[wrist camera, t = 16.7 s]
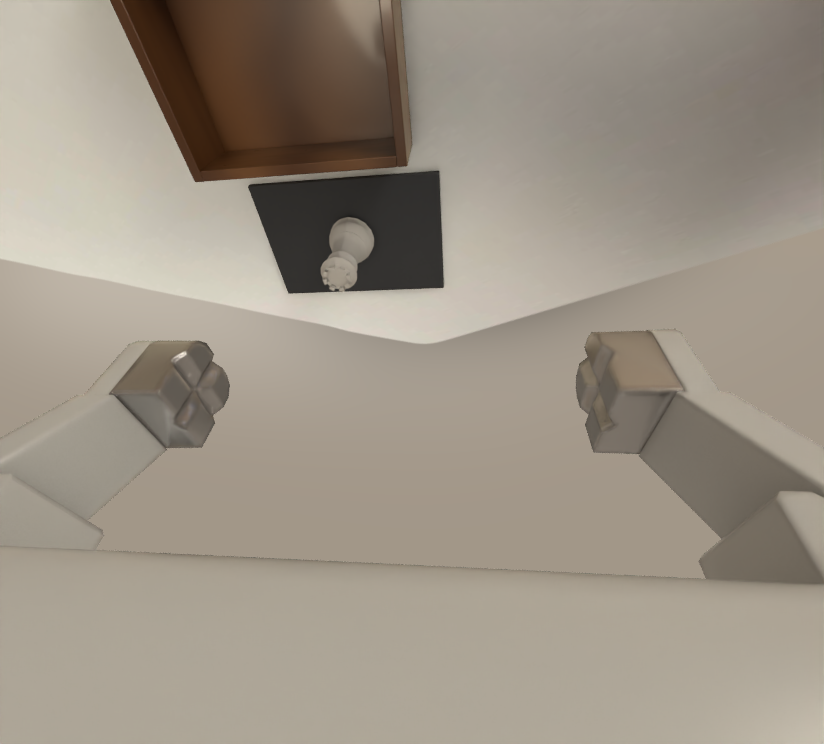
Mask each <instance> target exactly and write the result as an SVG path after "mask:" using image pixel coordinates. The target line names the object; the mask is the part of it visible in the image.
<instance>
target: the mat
mask: <svg viewBox="0 0 824 744" xmlns="http://www.w3.org/2000/svg"><path fill="white" fill-rule="evenodd" d="M248 188H249V190H250V193H251V196H252V198H253V201H254V203H255V206H256V209H257V211H258V214H259V217H260V219H261V222H262V225H263V227H264V230H265V232H266V235H267V238H268V240H269V243H270V246H271V248H272V251H273V254H274V256H275V259H276V262H277V264H278V267H279V269H280V272H281V275H282V277H283V280H284V283H285V285H286V288H287V291H288V293H315V292H339V289H335V290H334V291H332V290H330V289H329V288H330V286H329V285H328V284H326V285H325V284H324V282H323V277H322V275H321V266H322V264H323V262H325V261H326V260H327V259H328V257H329V255H330V254H332V250H331V247H330V243H329V235H330V233H331V229H332V227H333V225H334V224H335V223H336V222H337V221H338V220H340V219H343V218H347V217H351V218H357V219H359V220H361V221H362V222H364V223H366V225H367V226H368V227H369V228H370V229H371V231H372V234H373V236H374V247H373V249H372V251H371V253H370V254H369V256H368V257H367V258H366V259H365V260H363V261H362V262H360V263H358V264H357V280H356V282H355V284H354V285H353V286H352V287H350V288H348V289H345V291H369V290H396V289H422V288H443V287H444V284H443V259H442V233H441V208H440V183H439V171H431V172H417V173H404V174H390V175H376V176H362V177H349V178H335V179H321V180H307V181H294V182H280V183H266V184H252V185H249V186H248Z"/></svg>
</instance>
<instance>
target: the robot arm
mask: <svg viewBox="0 0 824 744" xmlns="http://www.w3.org/2000/svg"><path fill="white" fill-rule="evenodd" d="M585 351H586V353H587V356H588V357H587V358H586V359H585V360H583V361H582V362H581V363H580V364H579V368H578V372H577V375H576V392H577V399H578V402H579V406H580V408H582V409H583V410H584V411H585V412H586V413H587V414H589V415H588V418H587V421H586V424H585V426H586V429H587V433H588V436H589V439H590V443H591V446H592V449H593V452H598V453H626V454H640V455H639V457H640V458H641V459H642V460H643V461H644V462H645V463H646V464H647V465H648V466H649V467H650V468H651V469H652V470H653V471H654V472H655V473H656V474H657V475H658V476H659V477H660V478H661V479H662V480H663V481H664V482H665V483H666V484H667V485H668V486H669V487H670V488H671V489H672V490H673V491H674V492H675V493H676V494H677V495H678V496H679V497H680V498H681V499H682V500H683V501H685V503H686V504H687V505H688V506H689V507H690V508H691V509H692V510H693V511H695V513H697V515H698V516H699V517H700V518H701V519H702V520H703V521H704V522H705V523H706V524H707V525H708V526H709V527H710V528H711V529H712V530H713V531H714V532H715V533H716V534H718V536H719V537H720V538H721V540H720V541H719V542H718V543H716V544H715V545H714V546H713V547H712V548H710V549H709V550H708V551H707V552H706V553H704V555H703V556H702V557H701V558H700V560H699V563H700V565H701V568H702V570H703V573H704V575H705V578H706V579H698V578H697V579H696V578H677V577H656V576H635V575H612V574H592V573H570V572H550V571H528V570H508V569H487V568H466V567H465V568H464V567H445V566H424V565H403V564H401V565H400V564H382V563H361V562H339V561H318V560H297V559H275V558H256V557H234V556H213V555H191V554H170V553H169V554H168V553H149V552H128V551H106V550H95V549H96V548H97V546H98V544H99V543H100V541H101V539H102V538H103V536H104V535H103V530H102V529H100V528H98V527H97V526H95V525H94V524H92V523H90V522H89V521H87V520H88V519H90V518H91V517H92V516H93V515H94V514H95V513H96V512H97V511H99V510H100V509H101V508H102V507H103V506H104V505H105V504H107V503H108V502H109V501H110V500H111V499H112V498H113V497H114V496H116V495H117V494H118V493H119V492H120V491H121V490H122V489H123V488H124V487H126V486H127V485H128V484H129V483H130V482H131V481H132V480H134V479H135V478H136V477H137V476H138V475H139V474H140V473H141V472H142V471H144V470H145V469H146V468H147V467H148V466H149V465H150V464H152V463H153V462H154V461H155V460H156V459H157V458H158V457H159V456H161V455H162V454H163V453H164V452H165V451H166V450H167V449H166V448H194V447H195V448H198V447H202V446H203V444H204V443H205V441H206V439H207V437H208V435H209V433H210V431H211V430H212V428H213V426H214V424H215V421H214V418H213V415H214V414H215V413H217V412H218V411H219V410H220V409H221V408H223V407H224V405H225V403H226V401H227V399H228V396H229V387H230V384H229V381H228V377H227V375H226V373H225V372H224V370H223V368H222V367H220V366H219V365H217V364H215V363H214V362H212V359H213V355H214V354H213V352H212V351H211V349H210V348H209V346H208V345H207V343H204V342H201V341H137V342H134V343H131V344H129V345H128V346H127V347H126V348H125V349H124V350H123V351H122V353H121V354H120V355H119V356H118V357H117V358H116V359H115V360H114V361H113V363H112V364H111V365H110V366H109V367H108V368H107V369H106V371H105V372H104V373H103V374H102V375H101V376H100V377H99V378H98V379H97V381H96V382H95V383H94V384H93V385H92V386H91V387H90V389H88V391H87V392H86V393H85V394H84V395H76V396H74V397H73V398H71V399H69V400H67V401H66V402H64V403H62V404H60V405H58V406H57V407H55V408H53V409H51V410H49V411H48V412H46V413H44V414H42V415H40V416H39V417H37V418H35V419H33V420H32V421H30V422H28V423H26V424H24V425H23V426H21V427H19V428H17V429H16V430H14V431H12V432H10V433H8V434H7V435H5V436H3V437H1V438H0V744H824V447H822V446H820V445H819V444H817V443H815V442H814V441H812V440H810V439H809V438H807V437H805V436H803V435H802V434H800V433H798V432H797V431H795V430H793V429H792V428H790V427H788V426H787V425H784V424H783V423H781V422H780V421H778V420H776V419H775V418H773V417H771V416H770V415H768V414H766V413H764V412H763V411H761V410H759V409H758V408H756V407H754V406H753V405H751V404H749V403H747V402H746V401H744V400H742V399H741V398H739V397H737V396H736V395H734V394H732V393H731V392H720V391H719V389H718V388H717V386H716V385H715V383H714V382H713V380H712V379H711V377H710V376H709V374H708V373H707V371H706V369H705V368H704V366H703V365H702V363H701V362H700V360H699V359H698V357H697V356H696V354H695V353H694V352H693V350H692V348H691V347H690V345H689V344H688V342H687V340H686V339H685V338H684V336H683V335H682V333H681V332H680V331H678V330H676V329H661V330H646V331H615V332H591V334H590V335H589V337H588V338H587V341H586V344H585Z"/></svg>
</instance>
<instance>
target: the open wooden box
mask: <svg viewBox="0 0 824 744" xmlns="http://www.w3.org/2000/svg"><path fill="white" fill-rule="evenodd" d="M110 1H111V4H112V6H113V8H114V10H115V12H116V14H117V16H118V18H119V21H120V23H121V25H122V27H123V29H124V31H125V33H126V36H127V38H128V40H129V42H130V44H131V46H132V48H133V50H134V53H135V55H136V57H137V59H138V61H139V63H140V65H141V68H142V70H143V72H144V74H145V76H146V78H147V80H148V82H149V85H150V87H151V89H152V91H153V93H154V95H155V97H156V100H157V102H158V104H159V106H160V108H161V110H162V112H163V114H164V117H165V119H166V121H167V123H168V125H169V127H170V129H171V132H172V134H173V136H174V138H175V140H176V142H177V144H178V146H179V149H180V151H181V153H182V155H183V157H184V159H185V161H186V164H187V166H188V168H189V170H190V172H191V174H192V176H193V178H194V181H195V182H204V181H217V180H230V179H243V178H257V177H270V176H284V175H297V174H310V173H324V172H337V171H350V170H364V169H377V168H390V167H403V166H407V165H408V161H409V156H410V152H411V148H412V134H411V122H410V110H409V97H408V85H407V73H406V61H405V48H404V36H403V24H402V12H401V0H110Z"/></svg>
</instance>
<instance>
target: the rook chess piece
mask: <svg viewBox="0 0 824 744" xmlns="http://www.w3.org/2000/svg"><path fill="white" fill-rule="evenodd" d="M329 243H330V247H331V250H332V254H330V255H329V257H328V259H327V260H326V261H325V262H323V264H322V266H321V275H322V277H323V282H324V284H325V285H326V284H328V285H329V286H330V288H329V289H330V290H332V291H334V290H335V289H339V292H343V291H345V289H348V288H350V287H352V286H353V285H354V284H355V282H356V280H357V264H358V263H360V262H362V261H363V260H365V259H366V258H367V257H368V256H369V254H370V253H371V251H372V249H373V247H374V236H373V234H372V231H371V229H370V228H369V227H368V226H367V225H366V223H364V222H362V221H361V220H359V219H357V218H351V217H347V218H343V219H340V220H338V221H337V222H336V223H335V224H334V225H333V227H332V229H331V233H330V235H329Z"/></svg>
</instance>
